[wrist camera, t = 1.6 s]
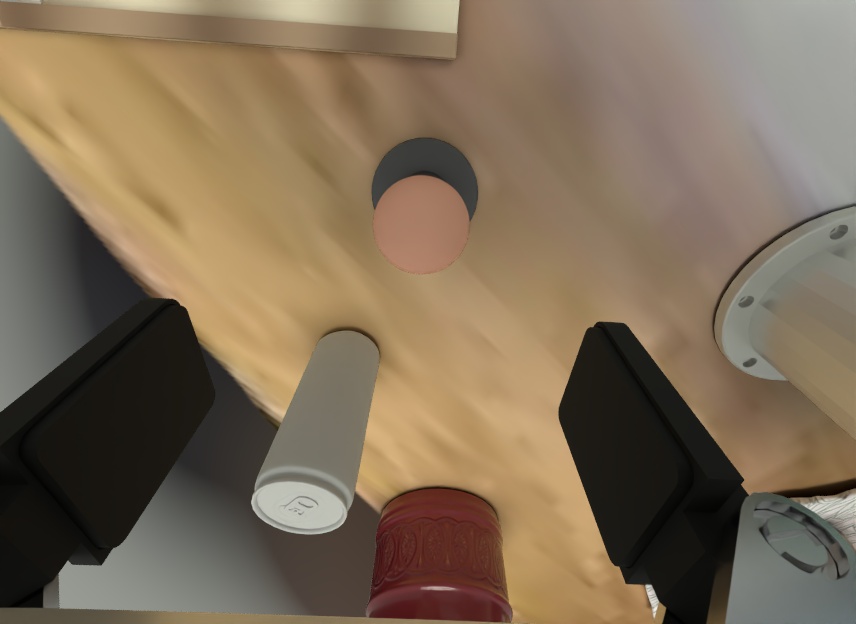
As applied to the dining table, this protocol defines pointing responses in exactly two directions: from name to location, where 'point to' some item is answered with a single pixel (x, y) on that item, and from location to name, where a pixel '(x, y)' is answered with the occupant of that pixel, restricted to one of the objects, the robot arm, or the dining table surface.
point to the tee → (427, 168)
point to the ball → (421, 224)
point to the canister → (439, 560)
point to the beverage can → (320, 439)
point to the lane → (257, 23)
